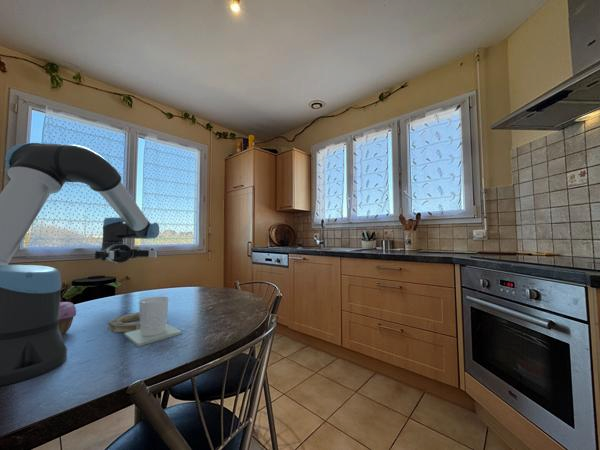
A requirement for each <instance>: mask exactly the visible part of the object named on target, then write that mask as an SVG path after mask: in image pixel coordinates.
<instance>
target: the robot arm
mask: <svg viewBox="0 0 600 450" xmlns="http://www.w3.org/2000/svg"><path fill="white" fill-rule="evenodd" d="M4 160H5V161H6V163H5V168H6V170H7V175H8V177H9V178H10V180H9V182H8V183H7V184H6V186H5V187H4V188H3V190H2V191H1V192H0V386H5V385H11V384H13V383H14V384H15V383H18V382H21V381H25V380H28V379H32V378H35V377H37V376H39V375H40V376H41V375H42V374H45V373H47V372H49V371H52V370H53V369H55V368H58V367H59V366H61V365H62V364H64V363H65V362H66V360H67V358H68V348H67V345H66V343H65V340H64V338H63V336H62V335H63V334H62V335H61V333H60V330H59V310H60V302H61V292H62V286H63V285H62V281H61V278H62V277H61V272H60V270H58V269H57V268H55V267H51V266H45V265H38V264H35V265H34V264H26V265H25V264H9V263H10V261H12V258H13V257H14V255H15V253H16V252H17V250H18V248H19V247H20V245H21V243H22V241H23V240H24V239H25V237H26V235H27V234H28V232H29V230H30V229H31V227H32V226H33V224H34V222H35V220H36V219H37V217H38V215H39V213H40V211H41V210H42V209H43V207H44V205H45V203H46V202H47V200H48V199H49V197H50V195H51V194H57V193H60V191H61V190H62V188H63V186H64V185H65V183H81V184H85V185H88V186H89V188H90V189H91V190H92V191H94V192H98V193H99V194H100V195H101V196H102V197H103V199H104V200H105V201H106V202H107V203H108V205H109V206H110V207H111V208H112V210H114V211H115V212H116V214H117V215H118V216H119V217H117V216H116V217H115V216H107V217H105V218H104V220H103V225H102V243H101V248H100V250H96V251H95V252H94V259H96V260H98V259H101V261H107V262H114V263H115V264H119V263H121V264H122V263H125V262H127V261H128V260H129V259H135V258H139V257H142V258H143V257H144V258H145V257H148V258H158V253H159V251H158V249H154V248H150V249H149V250H147V249H146V250H145V249H136V248H131V247H130V246H128V245H127V244H124V240H126V239H129V240H130V239H132V240H133V239H136V240H137V239H139V240H141V239H147V240H148V239H150V240H151V239H156V238H158V237H159V234H160V225H159V224H158V223H157V222H155V221H149V220H148V218H147V217H146V215H145V214H144V212H143V211H142V210H141V208H140V207H139V205H138V204H137V203H136V201H135V200H134V198H133V197H132V195H131V194H130V193H129V192H128V190H127V188H126V187H125V186H124V184H123V182H122V176H121V175H120V173H119V171H118V170H117V169H116V168H115V166H113V164H112V163H110V162H109V161H108V160H107V159H106V158H105V157H103V156H102V155H100V154H99V153H98V152H96V151H93V150H91V149H90V148H88V147H85V146H82V145H77V144H58V143H57V144H56V143H41V142H40V143H39V142H29V143H19V144H15V145H14V146H12V147H11V148H10V149H9V150H8V151H7V152H6V154H5V157H4Z"/></svg>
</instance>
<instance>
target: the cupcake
mask: <svg viewBox="0 0 600 450" xmlns="http://www.w3.org/2000/svg"><path fill="white" fill-rule="evenodd" d="M76 315H77V309H76V305H75V304H74V303H73V302H70V301H62V302H61V301H60V310H59V330H60V333H61V335H65V334H66V333H67V332H68V331H69V330H70V328H71V326H72V324H73V320H74V317H75V316H76Z"/></svg>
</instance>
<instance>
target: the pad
mask: <svg viewBox="0 0 600 450" xmlns="http://www.w3.org/2000/svg"><path fill="white" fill-rule="evenodd" d="M179 335H182V330H181V329H178V328H176V327H174V326H172V325H170V324H169V323H167V322H166V329H165V331H164V332H163V333H161V334H158V335H153V336H142V335H141V334H140V329H139V330H135V331H131V332H123V337H125V338H127V340H129V341H130V342H131V343H133V344H134V345H135V346H136V347H138V348H139V347H142V346H145V345H149V344H151V343H155V342H158V341H162V340H166V339H169V338H172V337H175V336H179Z"/></svg>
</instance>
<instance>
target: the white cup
mask: <svg viewBox="0 0 600 450" xmlns="http://www.w3.org/2000/svg"><path fill="white" fill-rule="evenodd" d="M169 299H170V298H169V297H167V296H151V297H146V298H142V299H140V300H139V301H138V302H139V305H138V306H139V308H138V309H139V310H138V312H139V317H140V320H139V322H140V334H141V335H142V336H153V335H158V334H161V333H163V332H164V331H165V329H166V323H167V320H168V319H167V318H168V312H169V311H168V310H169V309H168V308H169Z"/></svg>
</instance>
